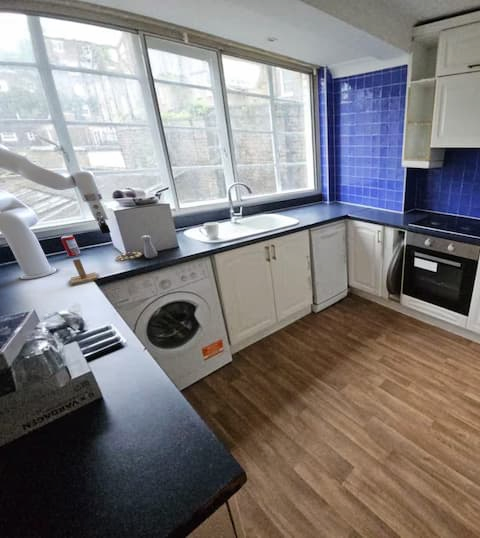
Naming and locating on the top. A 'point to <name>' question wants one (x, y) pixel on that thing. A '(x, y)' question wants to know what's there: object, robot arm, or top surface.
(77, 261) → the peg stand
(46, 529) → the top surface
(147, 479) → the top surface
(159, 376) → the top surface
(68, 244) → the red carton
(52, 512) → the top surface
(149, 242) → the salt shaker
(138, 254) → the ring
